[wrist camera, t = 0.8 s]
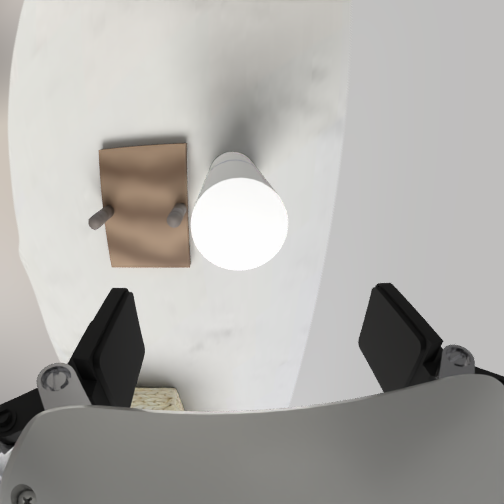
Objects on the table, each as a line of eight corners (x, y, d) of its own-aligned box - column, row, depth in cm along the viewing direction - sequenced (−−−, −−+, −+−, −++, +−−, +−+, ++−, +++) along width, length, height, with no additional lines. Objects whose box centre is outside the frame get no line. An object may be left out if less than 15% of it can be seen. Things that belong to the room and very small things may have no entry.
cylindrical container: (264, 182, 45) (304, 240, 22) (224, 205, 46) (224, 285, 23) (240, 143, 42) (257, 158, 20) (200, 167, 43) (171, 212, 21)
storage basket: (181, 383, 62) (176, 436, 48) (194, 421, 68) (192, 466, 55) (92, 380, 60) (75, 425, 47) (114, 417, 67) (103, 458, 53)
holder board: (102, 149, 40) (81, 154, 34) (186, 143, 42) (179, 145, 35) (114, 263, 48) (99, 284, 41) (190, 263, 50) (185, 285, 43)
